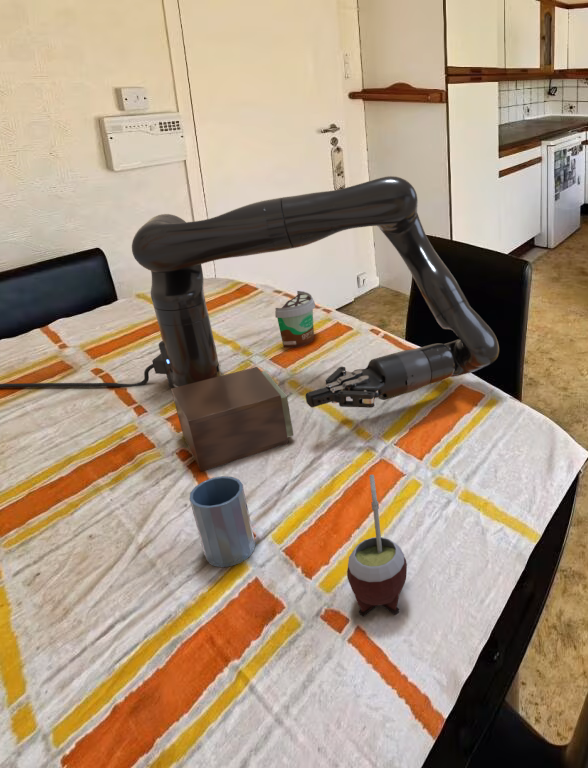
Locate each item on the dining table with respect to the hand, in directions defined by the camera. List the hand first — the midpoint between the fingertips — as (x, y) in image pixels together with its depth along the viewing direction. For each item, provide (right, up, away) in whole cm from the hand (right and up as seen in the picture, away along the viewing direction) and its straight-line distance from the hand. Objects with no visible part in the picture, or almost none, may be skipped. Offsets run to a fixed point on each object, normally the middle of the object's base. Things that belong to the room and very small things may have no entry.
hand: (307, 400), depth 103 cm
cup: (-6, -20, -18) cm, 28 cm away
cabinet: (-14, -7, +5) cm, 17 cm away
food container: (-11, +13, +42) cm, 46 cm away
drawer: (-12, -6, +6) cm, 15 cm away
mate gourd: (+15, -24, -26) cm, 38 cm away
